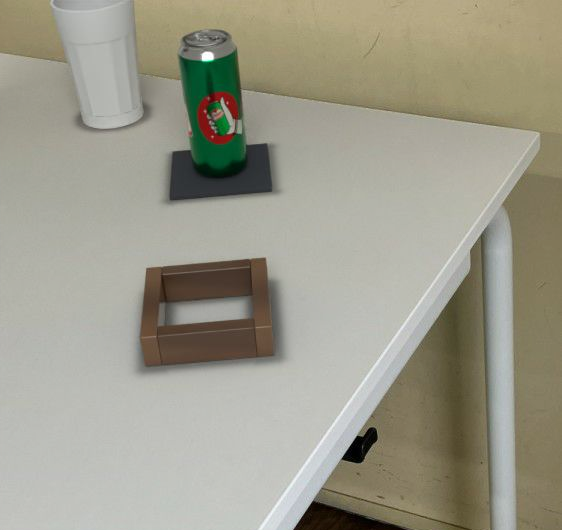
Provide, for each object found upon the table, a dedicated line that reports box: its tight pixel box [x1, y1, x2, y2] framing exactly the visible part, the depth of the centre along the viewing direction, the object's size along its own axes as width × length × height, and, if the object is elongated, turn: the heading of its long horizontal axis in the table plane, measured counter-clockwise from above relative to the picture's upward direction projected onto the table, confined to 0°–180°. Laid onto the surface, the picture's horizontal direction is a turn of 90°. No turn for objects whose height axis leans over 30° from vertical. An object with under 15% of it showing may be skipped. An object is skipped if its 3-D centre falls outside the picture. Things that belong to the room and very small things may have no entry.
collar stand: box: [139, 256, 276, 367], centre depth 72 cm, size 9×9×2 cm
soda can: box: [177, 28, 248, 178], centre depth 88 cm, size 5×5×12 cm
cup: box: [49, 0, 145, 130], centre depth 100 cm, size 8×8×12 cm
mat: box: [169, 142, 273, 201], centre depth 92 cm, size 9×9×1 cm
